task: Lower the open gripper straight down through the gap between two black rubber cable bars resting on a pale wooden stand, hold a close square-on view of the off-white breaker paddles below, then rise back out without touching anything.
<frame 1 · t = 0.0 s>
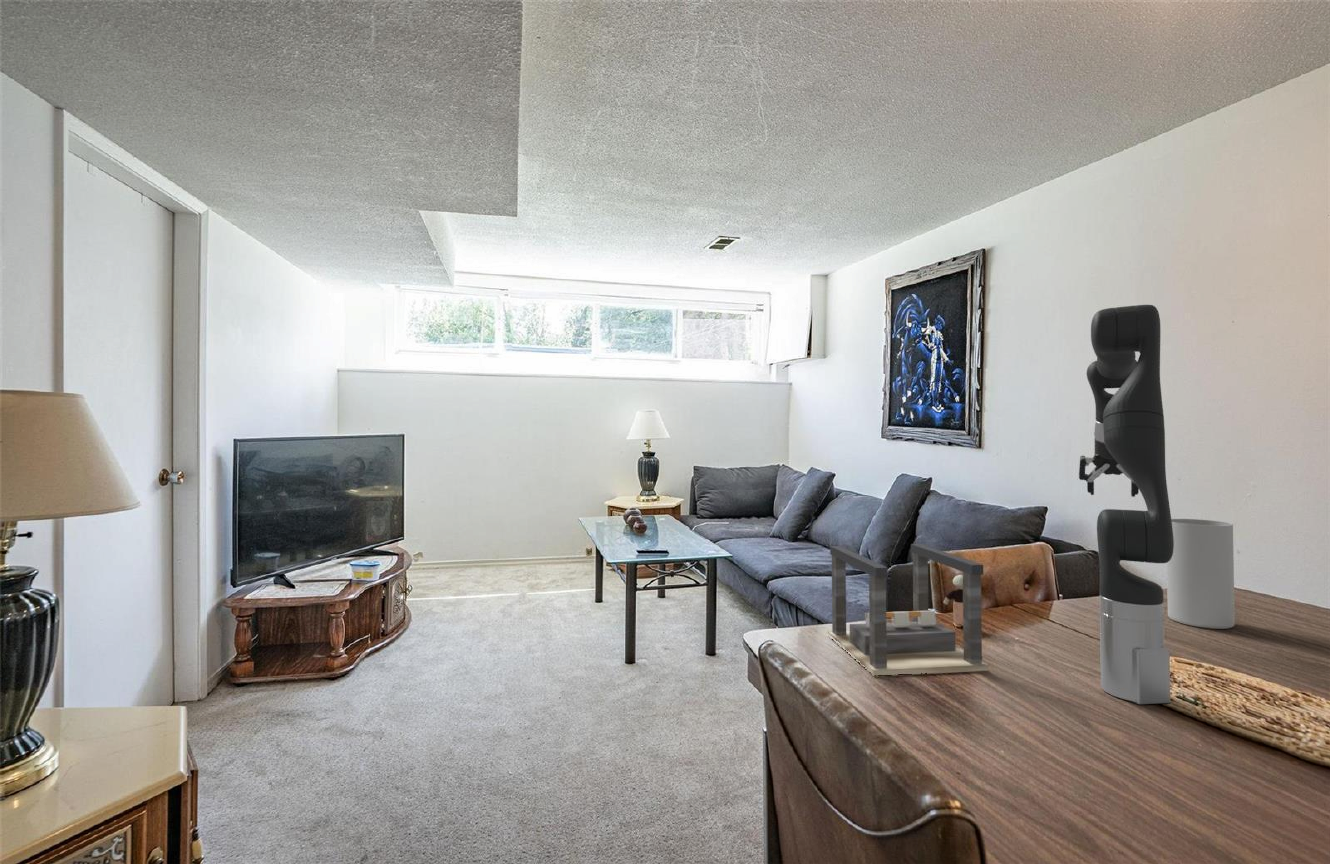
hand: (1112, 494, 156), 31 cm above the table, tool tilted 20°, fingers open, 8 cm apart
cable bar 1: (856, 565, 130), point 19 cm above the table, touching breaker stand
breaker paddles: (900, 618, 131), point 7 cm above the table, hinge at 10.0°
grandmother figurine: (960, 627, 148), on the table
cylinder vase: (1200, 622, 150), on the table
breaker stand: (901, 651, 131), on the table
cable bar 2: (943, 562, 132), point 19 cm above the table, touching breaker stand
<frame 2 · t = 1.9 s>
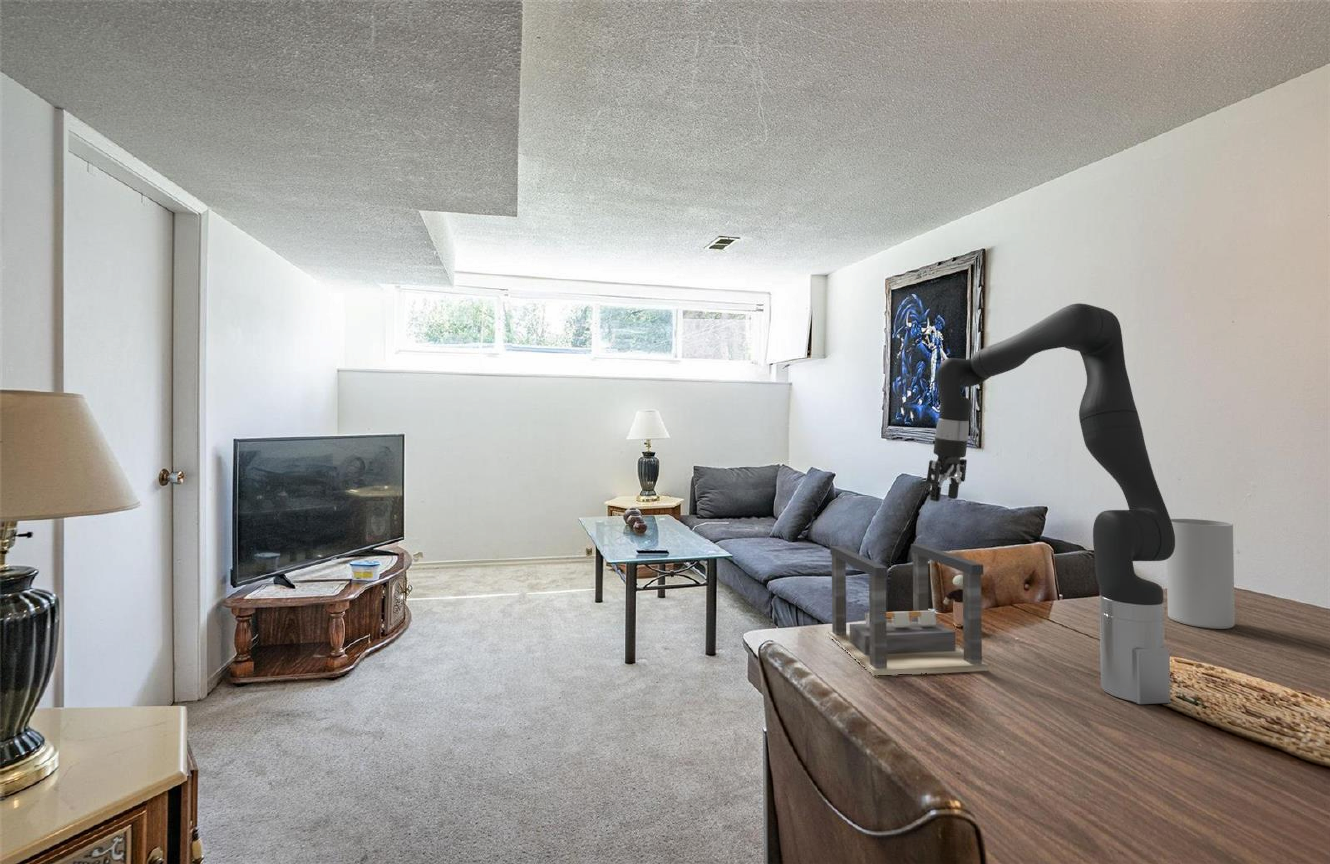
hand: (943, 499, 155), 31 cm above the table, tool pointing down, fingers open, 8 cm apart
nothing on the table moved.
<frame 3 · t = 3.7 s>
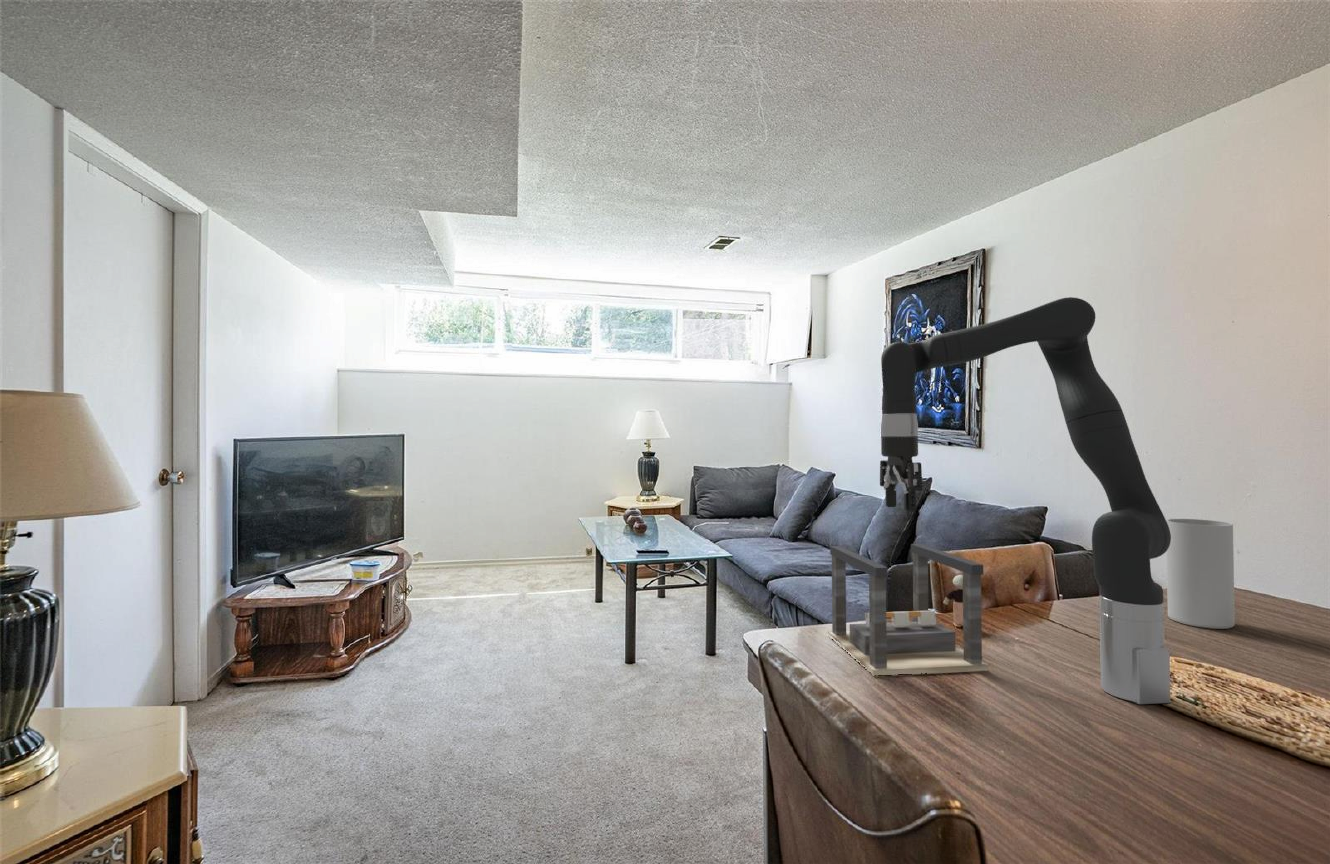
hand: (900, 508, 131), 31 cm above the table, tool pointing down, fingers open, 8 cm apart
nothing on the table moved.
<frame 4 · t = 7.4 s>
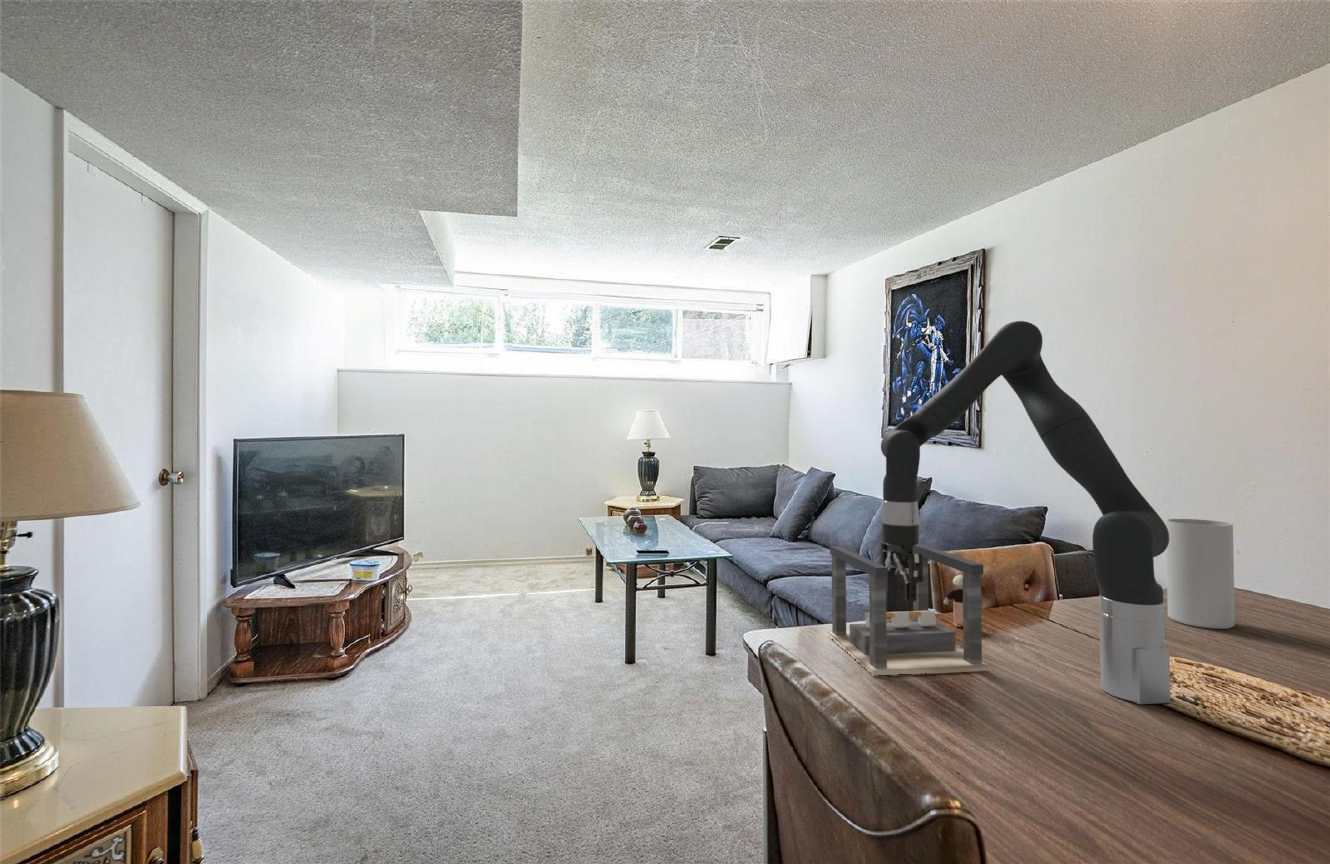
hand: (900, 595, 131), 12 cm above the table, tool pointing down, fingers open, 8 cm apart
nothing on the table moved.
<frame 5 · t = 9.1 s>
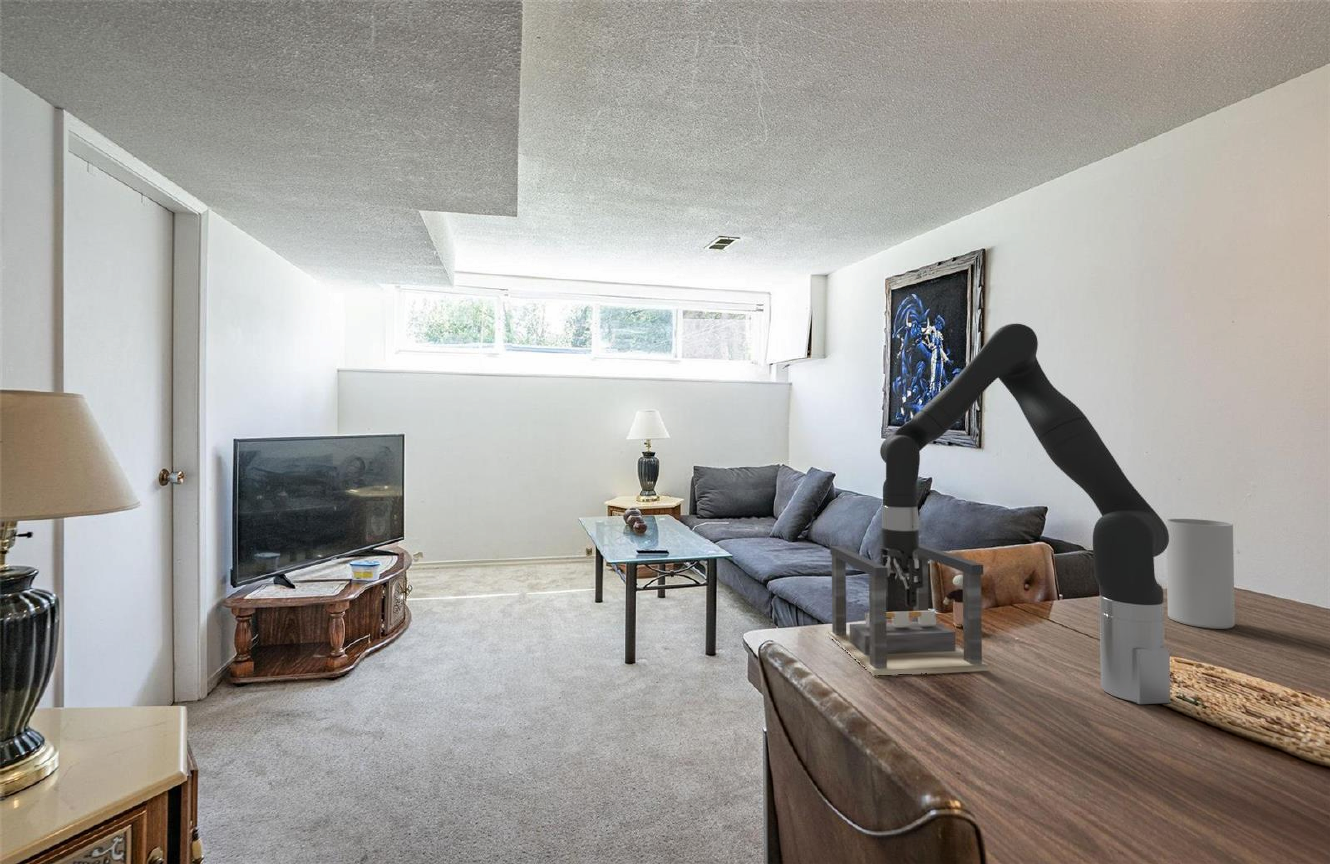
hand: (900, 600, 131), 11 cm above the table, tool pointing down, fingers open, 8 cm apart
nothing on the table moved.
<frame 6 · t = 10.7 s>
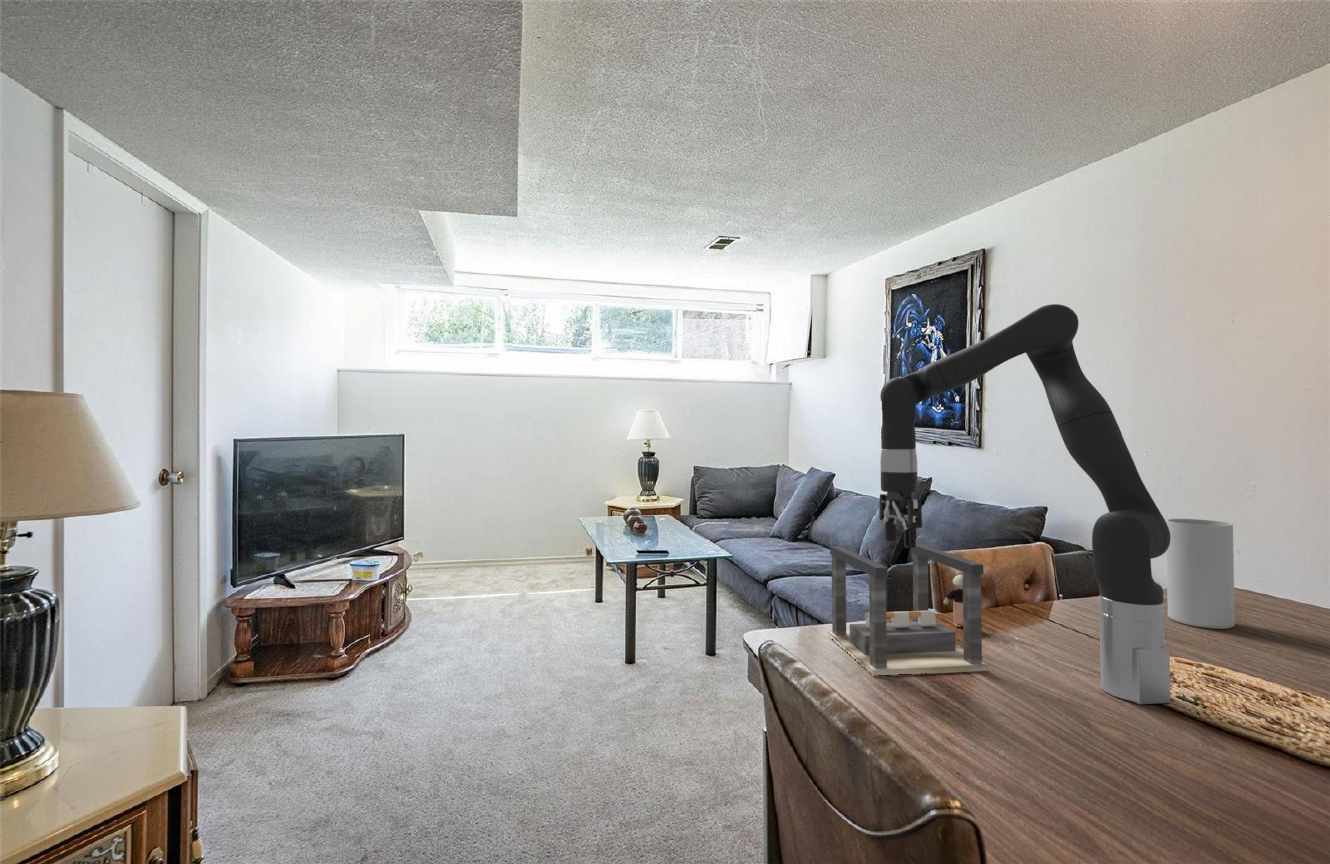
hand: (899, 544, 131), 23 cm above the table, tool pointing down, fingers open, 8 cm apart
nothing on the table moved.
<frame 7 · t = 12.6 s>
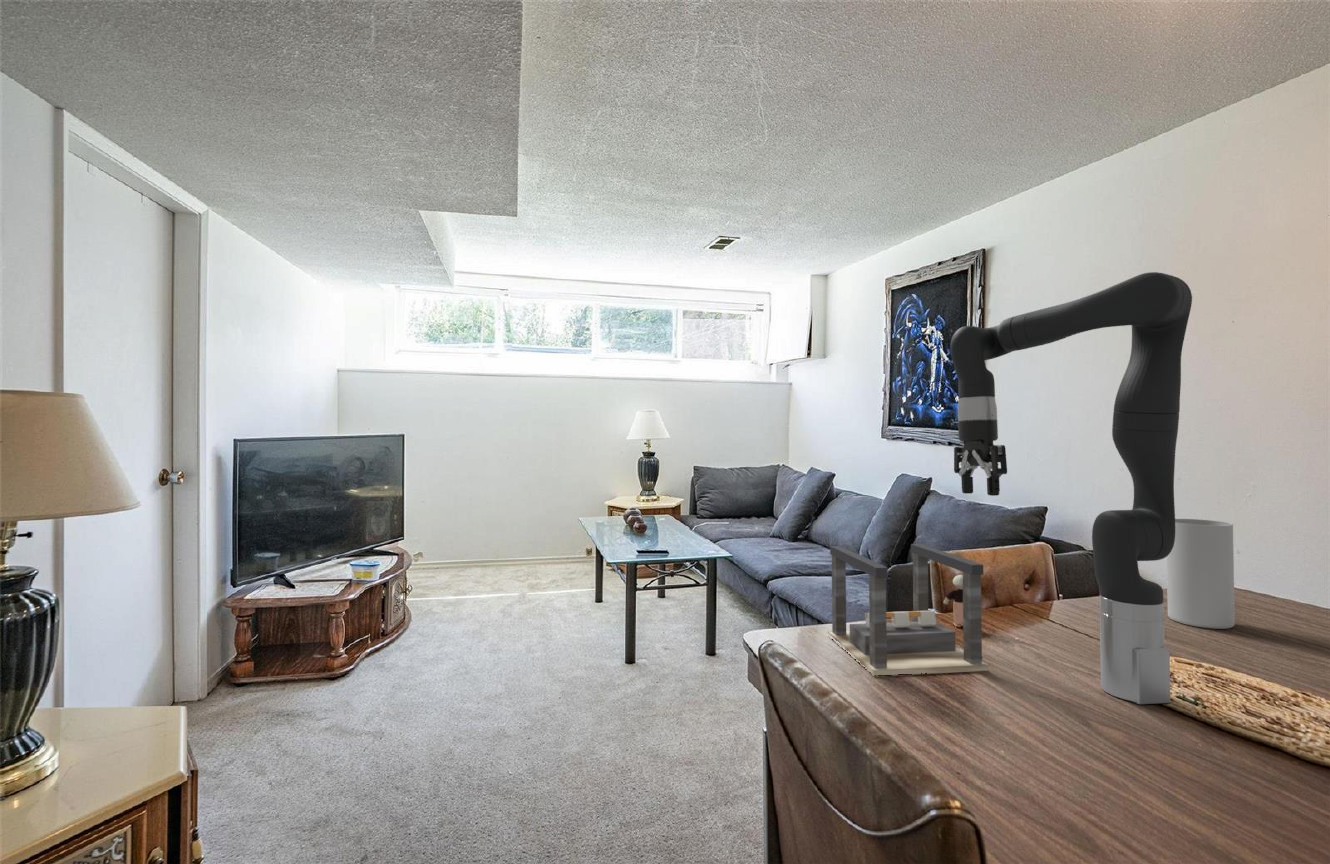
hand: (980, 494, 129), 34 cm above the table, tool pointing down, fingers open, 8 cm apart
nothing on the table moved.
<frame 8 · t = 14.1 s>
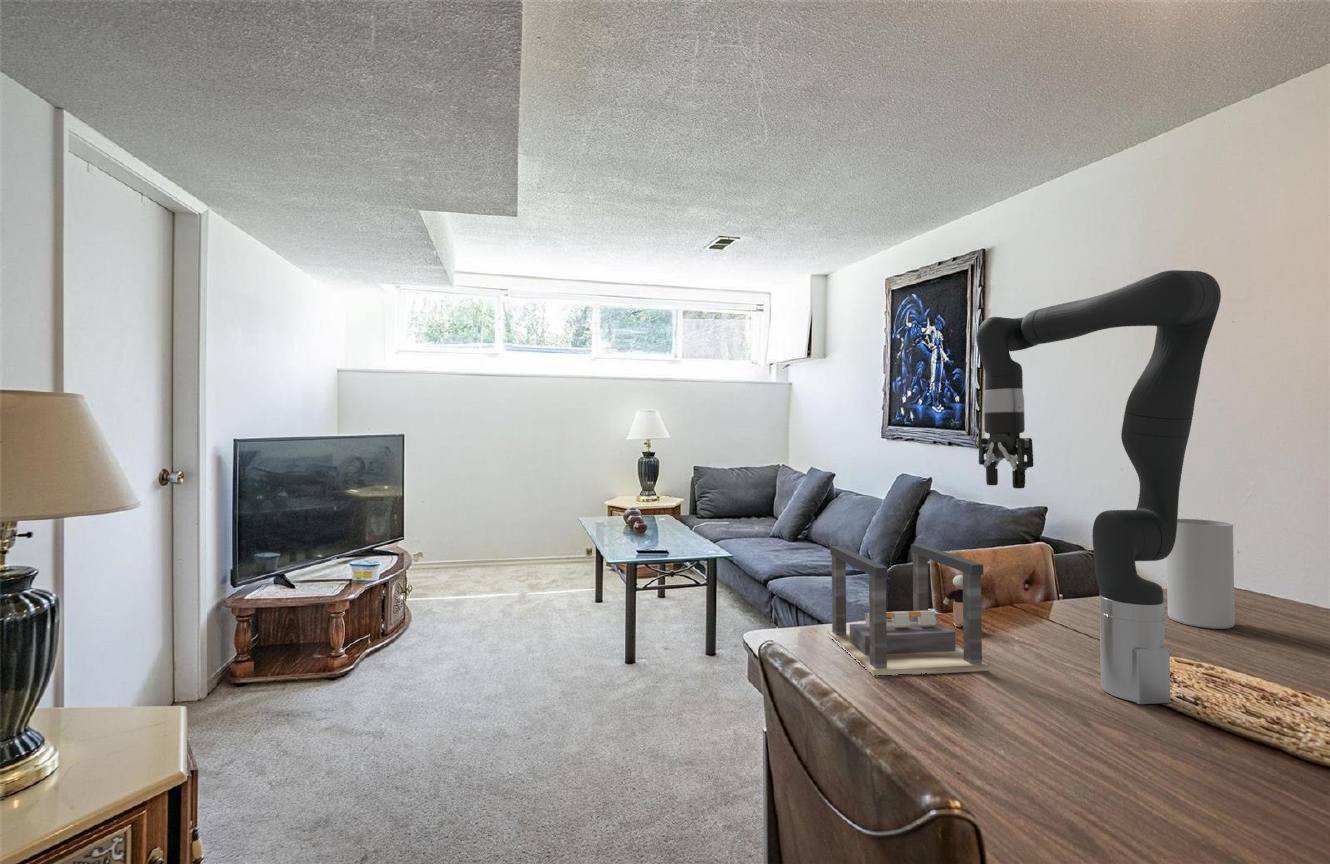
hand: (1004, 486, 128), 36 cm above the table, tool pointing down, fingers open, 8 cm apart
nothing on the table moved.
at the end: breaker paddles at +10° (first picture: +10°); cable bar 2 moved 0.0 cm from its start; cable bar 1 moved 0.0 cm from its start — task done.
